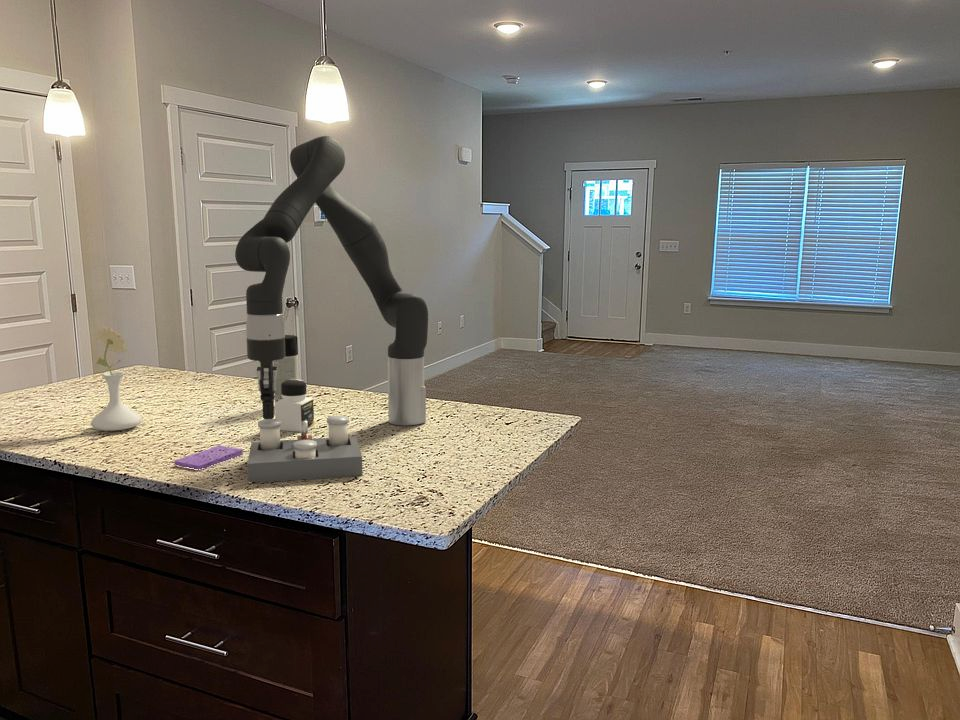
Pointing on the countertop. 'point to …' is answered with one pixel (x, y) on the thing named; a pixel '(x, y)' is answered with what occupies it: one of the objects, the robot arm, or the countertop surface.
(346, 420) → the knob
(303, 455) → the knob side
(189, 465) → the sponges
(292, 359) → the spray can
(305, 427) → the brown boxy piece
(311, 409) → the medicine bottle
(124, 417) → the flower in vase
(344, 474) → the mount
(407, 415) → the robot arm
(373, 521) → the countertop surface
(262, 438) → the knob
